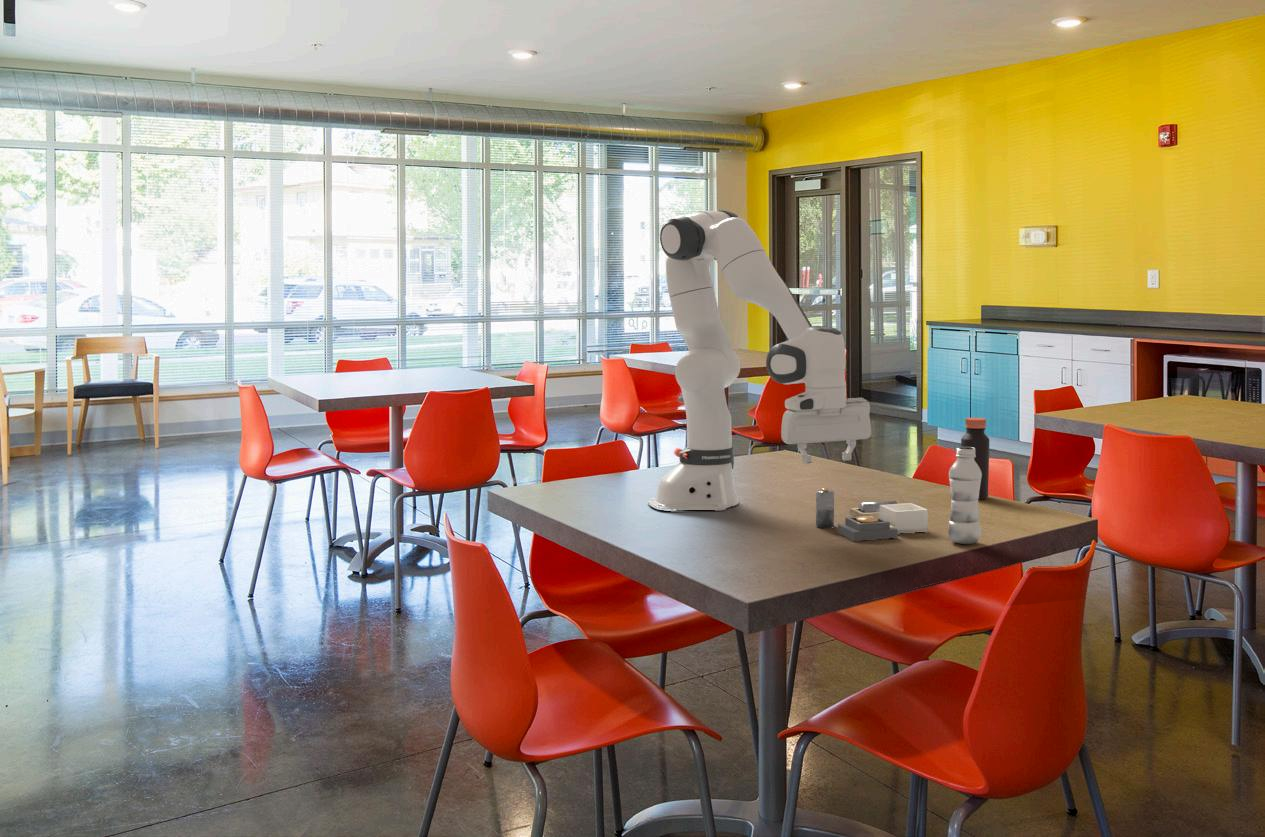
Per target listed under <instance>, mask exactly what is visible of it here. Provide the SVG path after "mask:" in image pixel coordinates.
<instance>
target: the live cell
mask: <svg viewBox="0 0 1265 837" xmlns="http://www.w3.org/2000/svg"><path fill="white" fill-rule="evenodd" d="M888 504H898V503H897V501H896V500H885V501H884V500H883V501H882V500H881V501H872V502H871V501H870V502H861V503H859V505H858V507H857V508H858V511H861V512H863V513H871V512H880V505H888Z"/></svg>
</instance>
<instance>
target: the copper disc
mask: <svg viewBox="0 0 1265 837" xmlns="http://www.w3.org/2000/svg"><path fill="white" fill-rule="evenodd" d="M856 521H857V522H859V523H874V522H878V517H875V516H858V517H857V519H856Z"/></svg>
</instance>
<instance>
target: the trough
mask: <svg viewBox="0 0 1265 837" xmlns="http://www.w3.org/2000/svg"><path fill="white" fill-rule="evenodd" d="M858 508H859V507H853V508H850V509H849V510H850V511H849V517H858V516H877V517H880V512H871V513H863V512H861V511H858Z"/></svg>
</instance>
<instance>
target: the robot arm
mask: <svg viewBox="0 0 1265 837" xmlns="http://www.w3.org/2000/svg"><path fill="white" fill-rule="evenodd" d="M659 240H660V242H659V243H660V245H661V249H662V251H663V253H665V255H666V256H667V257H666V260H665V277H666V284H667V285H666V286H667V291H668V297H669V300H670V305H671V310H672V314H673V319H674V322H675V327H676V330H677V331H678V333H679V334H680V335H681V337H682V339H683V341H684V343H685V346H686V347H687V349H688V351H687V353H685V354H684V355H683V356H681V357H680V359H679V360H678V362H677V363H676V366H675V370H674V375H675V379H676V382H677V384H678V385H679V387H680V390H681V395H682V399H683V404H684V409H685V415H686V418H685V419H686V442H687V443H686V447H684V448H683V449H681V448H679V447H676V448H675V449H674V450H673V454H674V456H676V457H678V458H679V463H678V464H677V465H675V466H674V467H673V468H672V469H671V470H670V471H668V472H667V473H665V474H664V475H663V476H662V477H661V478H660V479H659V481H658V484H657V488H656V496H655V497H650V498H649V499H655V500H649V499H647V503H648V502H649V503H650V504H651V505H653V506H655V507H658V508H662V509H671V510H673V509H676V510H715V511H726V510H727V509H728V508H731V506H732V507H734V506H737V505H738V504H739V499H738V496H737V492H736V488H735V482H734V481H735V480H734V473H733V472H734V471H733V469H734V466H735V453H734V447H733V445H732V443H733V442H732V431H733V430H732V428H733V427H732V415H731V412H730V410H729V408H728V403H727V398H726V393H725V388H728V387H729V386H731V385H732V384H733V383H734V382H735V381H736V380H737V378H738V377H739V375H740V372H741V362H740V361H741V360H740V358H739V356H738V355H737V354H736V352H735V351H734V349H733V346H732V343H731V341H730V338H729V336H728V334H727V331H726V329H725V327H724V324H723V321H722V319H721V315H720V310H719V306H718V301H717V297H716V293H715V288H714V284H713V280H712V277H711V273H710V272H711V271H710V270H711V269H710V267H711V263H712V262H713V260H715V261H716V263H717V264H718V267H719V269H720V272H721V275H722V276H723V278H724V281H725V282H726V284H727V286H728V288H729V289H730V290H731V291H732V293H733V294H734V295H735V296H736V297H737V298H738V299H740V300H743V301H745V302H748V303H751V304H753V305H756V306H758V307H760V308H762V309H763V310H766V311H767V312H768V313H770V314H771V315H772V316H773V317H774V318H775V319H776V321H777V322H778V324H779V326H780V328H781V329H782V331H783V333H784V335H785V336H786V337H787V339H788V340H785V341H783V342H780V343H777V344H775V345H773V346H771V348H770V349H769V351H768V352H767V355H766V361H765V365H766V370H767V374H768V375H769V376H770V378H771V379H772V381H774V382H775V383H778V384H783V385H793V384H803V383H804V385H805V386H804V387H805V391H804V392H801V393H799V394H797V395H794V396H791V397H789V398H786V399H785V400H784V407H785V409H786V410H785V411H784V413H783V415H782V421H781V430H780V434H781V436H780V437H781V440H782V441H783V443H785V444H787V445H797V449H798V451H799V453H800V454H801V455H802V463H803V464H806V465H807V464H812V462H813V460H812V458H813V457H812V456H813V455H811V454H808V453H807V450H806V449H807V448H808V445H807V444H814V443H827V442H830V443H831V442H842V441H845V442H846V444H847V448H846V450H845V451H841V458H842V460H843V461H845V462H846V461H851V460H852V453H853V451H854V449H855V448H856V446H857V440H868V439H869V438H870V437H871V435H872V425H871V424H872V423H871V418H870V413H871V404H870V403H869V401H868V400H867V399H865V398H864V397H856V398H855V397H851V398H848V397H847V382H846V380H845V370H846V367H847V365H846V362H847V361H846V360H847V358H846V346H845V345H846V344H845V340H844V336H843V334H842V332H841V331H840V330H839V329H837V328H835V327H831V326H825V325H812V324H811V322H810V320H809V318H808V317H807V315H806V313H805V312H804V309H803V308H802V306H801V305H800V304H799V302H798V300H797V299H796V297H795V295H794V294H793V292H792V291H791V290H790V288H789V287H788V286H787V283H785V281H784V279H782V278H781V276H780V275H779V273H778V272H777V270H776V269H775V267H774V265H773V264H772V262H771V260H770V258H769V256H768V254H767V252H766V250H765V249H764V246H763V245H762V243H761V241H760V239H759V237H758V236H757V234H756V233H755V231H754V230H753V229H752V227H751V226H750V224H749V223H748V222H747V221H746V220H745V219H743V218H742V217H739V216H738V215H737V214H736V213H734V212H732V211H729V210H723V209H719V210H702V211H697V212H693V213H687V214H679V215H675V216H673V217H670V218H669V219H667V220H666V221H664V223H663V225H662V226H661V229H660V232H659ZM659 506H661V507H659ZM726 508H727V509H726Z"/></svg>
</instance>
